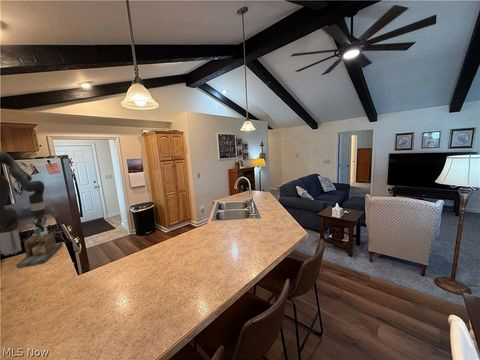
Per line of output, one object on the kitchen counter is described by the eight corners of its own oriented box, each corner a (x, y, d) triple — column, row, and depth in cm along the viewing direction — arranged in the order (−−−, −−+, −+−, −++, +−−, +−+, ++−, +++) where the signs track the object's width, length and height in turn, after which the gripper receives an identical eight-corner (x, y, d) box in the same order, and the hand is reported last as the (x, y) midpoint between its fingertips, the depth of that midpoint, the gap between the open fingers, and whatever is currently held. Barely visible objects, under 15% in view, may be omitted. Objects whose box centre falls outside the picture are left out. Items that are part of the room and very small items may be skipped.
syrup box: (49, 238, 174) (46, 222, 171) (41, 241, 168) (38, 225, 166) (43, 238, 174) (40, 222, 172) (35, 241, 168) (32, 225, 166)
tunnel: (17, 268, 129) (13, 247, 127) (40, 248, 155) (37, 231, 153) (44, 263, 135) (41, 243, 132) (63, 245, 160) (60, 228, 158)
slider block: (33, 254, 140) (28, 231, 138) (37, 251, 146) (33, 228, 143) (45, 252, 143) (41, 229, 140) (50, 249, 148) (46, 226, 146)
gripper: (36, 207, 148) (40, 229, 151) (25, 211, 136) (30, 236, 139) (49, 205, 151) (52, 227, 154) (39, 210, 139) (44, 234, 142)
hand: (42, 231), depth 146 cm, fingers closed
